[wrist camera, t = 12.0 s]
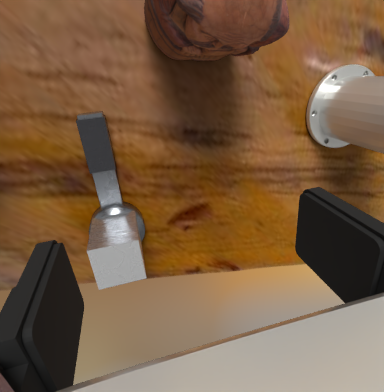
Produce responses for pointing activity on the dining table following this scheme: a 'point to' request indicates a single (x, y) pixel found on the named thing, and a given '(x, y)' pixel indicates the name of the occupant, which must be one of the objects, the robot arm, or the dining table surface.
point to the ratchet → (103, 167)
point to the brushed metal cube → (116, 250)
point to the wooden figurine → (214, 26)
